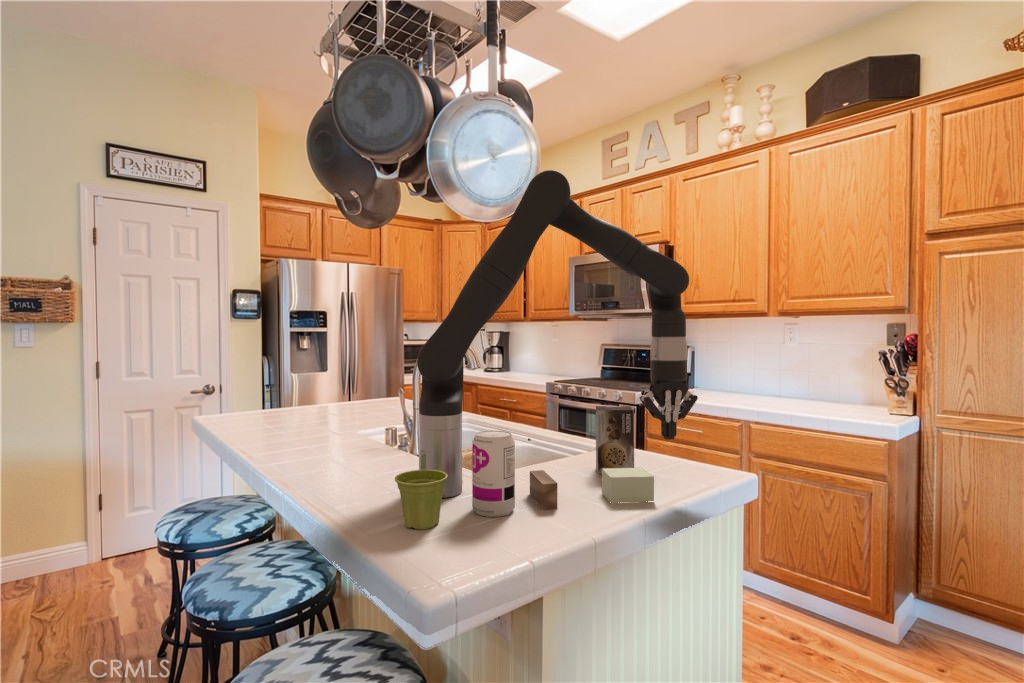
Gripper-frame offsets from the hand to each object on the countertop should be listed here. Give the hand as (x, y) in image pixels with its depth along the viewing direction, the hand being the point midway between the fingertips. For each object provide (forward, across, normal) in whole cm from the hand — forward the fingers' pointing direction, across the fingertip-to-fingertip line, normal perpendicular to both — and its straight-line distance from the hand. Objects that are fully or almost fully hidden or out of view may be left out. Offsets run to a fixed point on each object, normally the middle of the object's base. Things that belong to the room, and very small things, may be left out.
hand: (668, 438), depth 110 cm
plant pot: (+12, -53, -6) cm, 54 cm away
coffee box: (+12, -4, +20) cm, 24 cm away
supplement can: (+12, -39, -2) cm, 41 cm away
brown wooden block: (+12, -28, +2) cm, 30 cm away
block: (+12, -10, 0) cm, 16 cm away
